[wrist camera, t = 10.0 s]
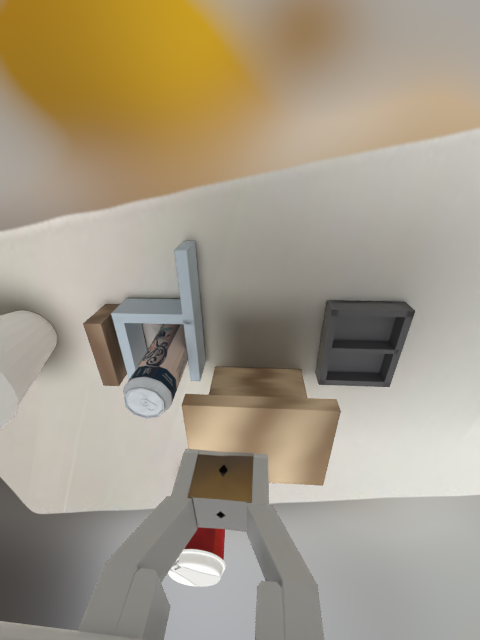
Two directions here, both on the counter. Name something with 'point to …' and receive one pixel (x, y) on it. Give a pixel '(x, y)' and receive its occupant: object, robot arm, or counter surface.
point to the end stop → (106, 346)
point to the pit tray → (362, 342)
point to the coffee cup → (201, 559)
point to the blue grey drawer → (165, 316)
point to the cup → (21, 357)
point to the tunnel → (265, 421)
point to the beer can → (158, 373)
